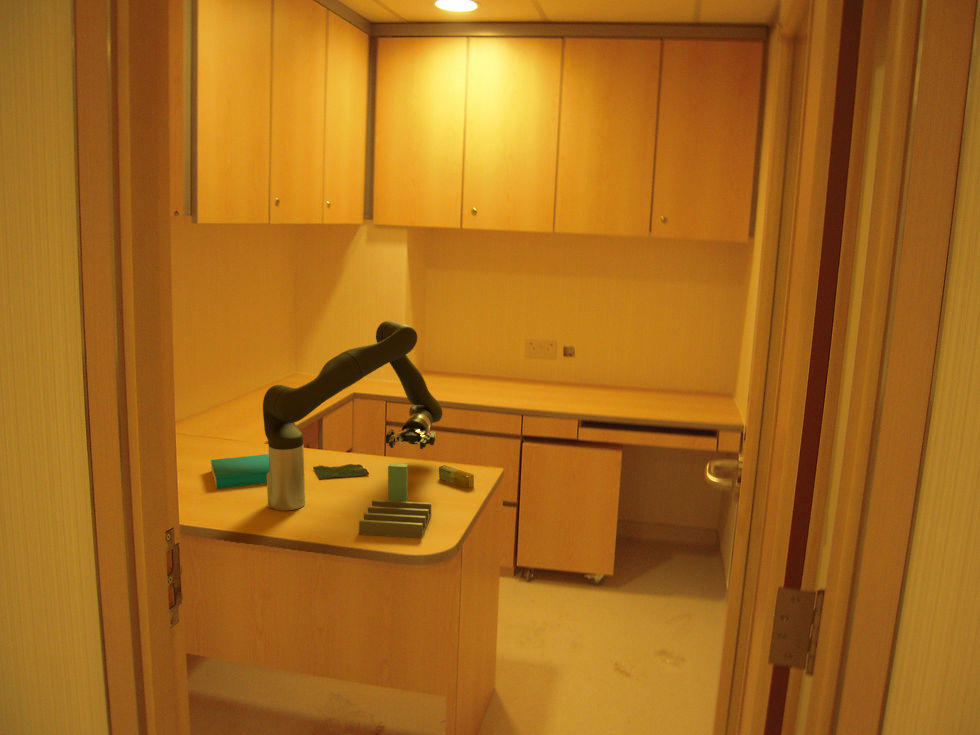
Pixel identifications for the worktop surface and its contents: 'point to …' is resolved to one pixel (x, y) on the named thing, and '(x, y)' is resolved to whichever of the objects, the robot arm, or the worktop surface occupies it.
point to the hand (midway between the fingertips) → (406, 445)
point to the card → (398, 482)
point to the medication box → (456, 476)
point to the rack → (396, 518)
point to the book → (240, 471)
